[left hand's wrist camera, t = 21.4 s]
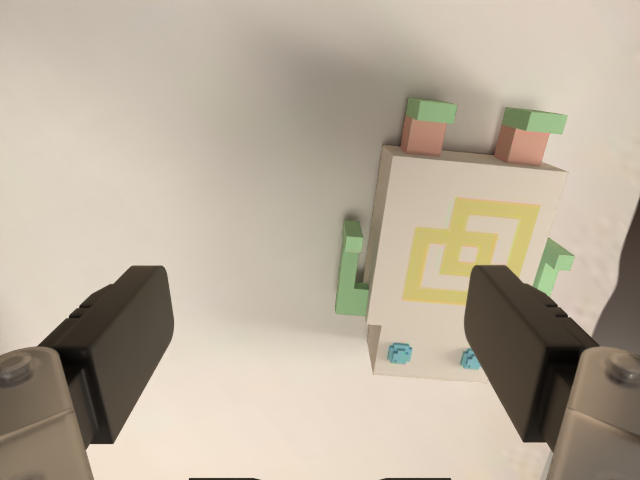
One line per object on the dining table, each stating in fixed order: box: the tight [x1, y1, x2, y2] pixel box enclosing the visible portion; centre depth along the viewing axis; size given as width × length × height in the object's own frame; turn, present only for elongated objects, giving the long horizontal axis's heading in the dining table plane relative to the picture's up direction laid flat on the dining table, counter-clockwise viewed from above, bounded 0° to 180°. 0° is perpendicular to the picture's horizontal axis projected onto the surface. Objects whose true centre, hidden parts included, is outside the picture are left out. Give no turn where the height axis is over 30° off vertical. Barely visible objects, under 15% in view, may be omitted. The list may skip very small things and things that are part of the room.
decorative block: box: [335, 98, 575, 383], centre depth 39 cm, size 26×6×20 cm
